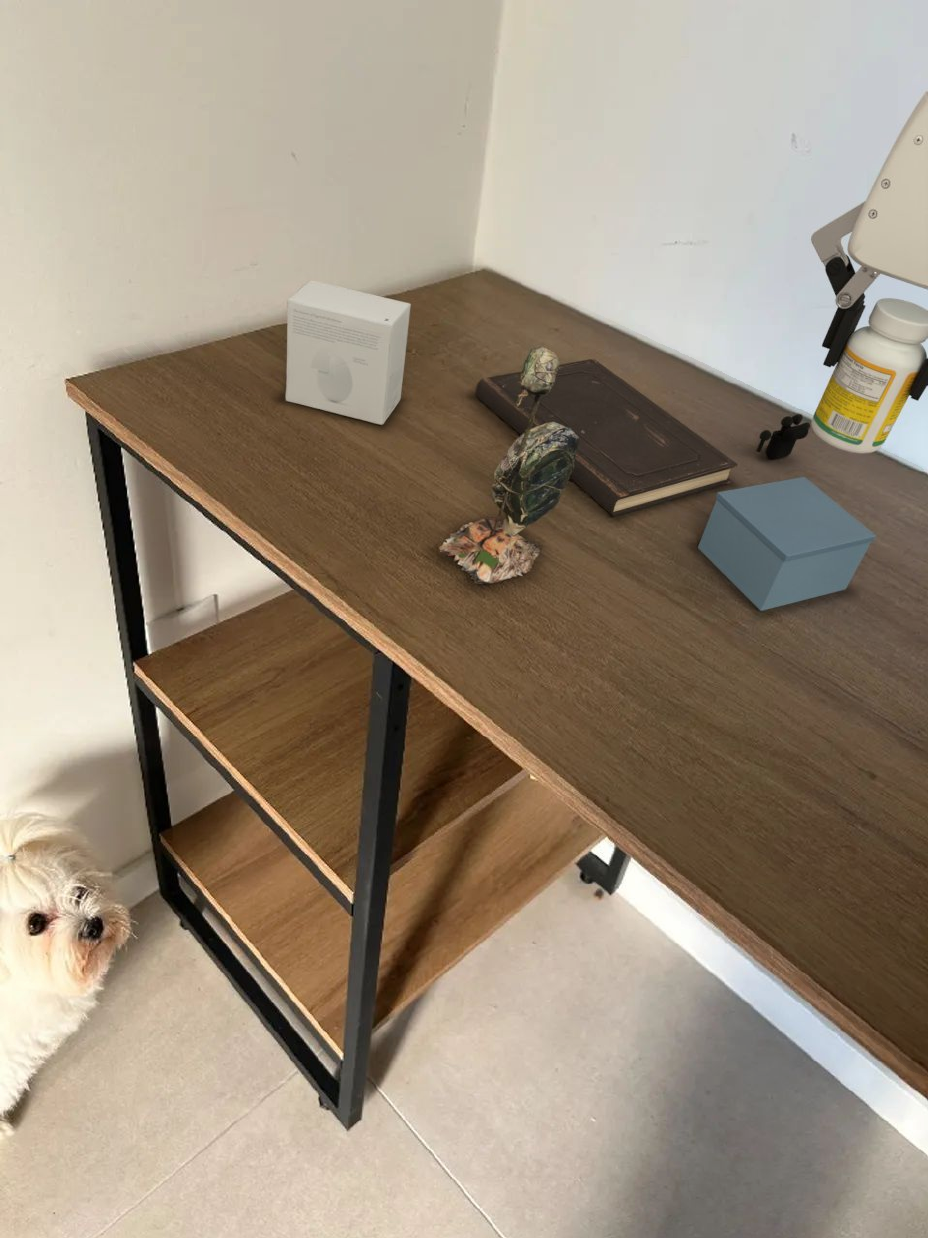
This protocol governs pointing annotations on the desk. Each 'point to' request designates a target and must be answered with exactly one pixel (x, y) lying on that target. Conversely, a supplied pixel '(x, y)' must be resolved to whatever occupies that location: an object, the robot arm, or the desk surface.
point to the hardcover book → (614, 437)
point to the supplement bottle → (873, 378)
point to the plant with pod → (520, 487)
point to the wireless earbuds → (784, 437)
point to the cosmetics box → (346, 351)
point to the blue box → (784, 542)
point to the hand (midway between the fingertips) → (875, 373)
